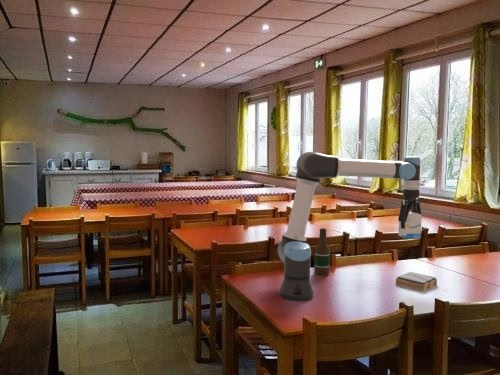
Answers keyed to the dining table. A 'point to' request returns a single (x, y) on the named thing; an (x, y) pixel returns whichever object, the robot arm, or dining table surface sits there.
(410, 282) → the plinth
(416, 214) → the ink box
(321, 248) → the beer bottle
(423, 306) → the dining table surface
